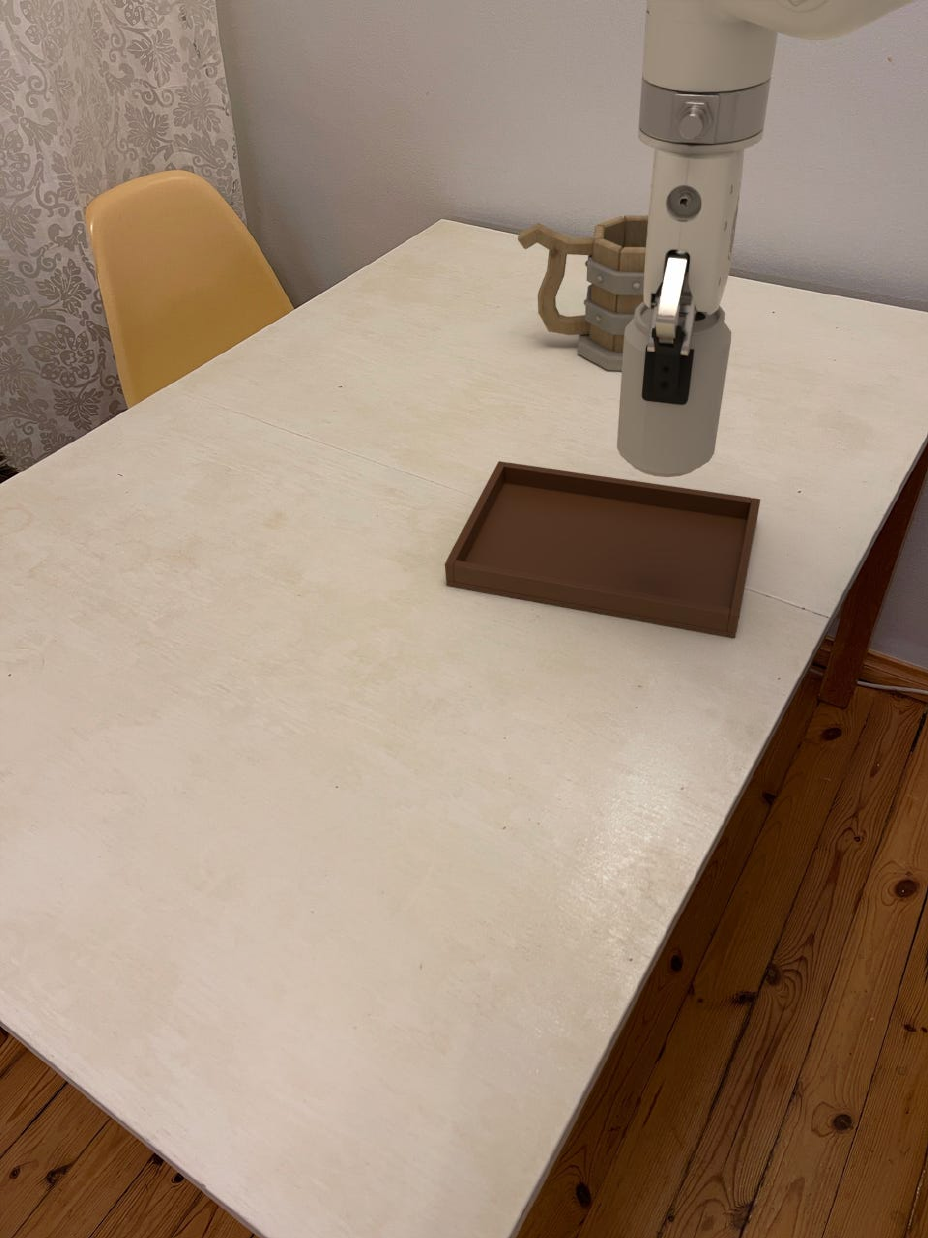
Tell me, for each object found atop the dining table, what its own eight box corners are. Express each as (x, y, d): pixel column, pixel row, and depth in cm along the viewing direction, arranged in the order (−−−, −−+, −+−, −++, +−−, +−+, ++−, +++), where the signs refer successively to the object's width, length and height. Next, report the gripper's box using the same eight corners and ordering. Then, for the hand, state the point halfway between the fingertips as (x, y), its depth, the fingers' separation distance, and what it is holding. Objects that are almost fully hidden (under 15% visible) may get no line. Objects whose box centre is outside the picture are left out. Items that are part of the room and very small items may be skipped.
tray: (756, 521, 92) (760, 498, 90) (735, 638, 81) (739, 615, 79) (499, 482, 99) (498, 460, 97) (446, 585, 87) (444, 563, 86)
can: (730, 448, 76) (754, 302, 68) (682, 495, 72) (701, 345, 63) (647, 419, 79) (660, 278, 71) (597, 462, 75) (605, 317, 67)
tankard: (682, 323, 122) (696, 201, 111) (684, 373, 113) (699, 246, 102) (524, 320, 125) (524, 200, 114) (514, 368, 115) (512, 244, 105)
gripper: (751, 160, 52) (710, 442, 64) (778, 71, 64) (739, 323, 76) (612, 153, 54) (598, 428, 66) (663, 68, 65) (643, 314, 77)
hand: (674, 370), depth 70 cm, fingers closed on can, 7 cm apart
